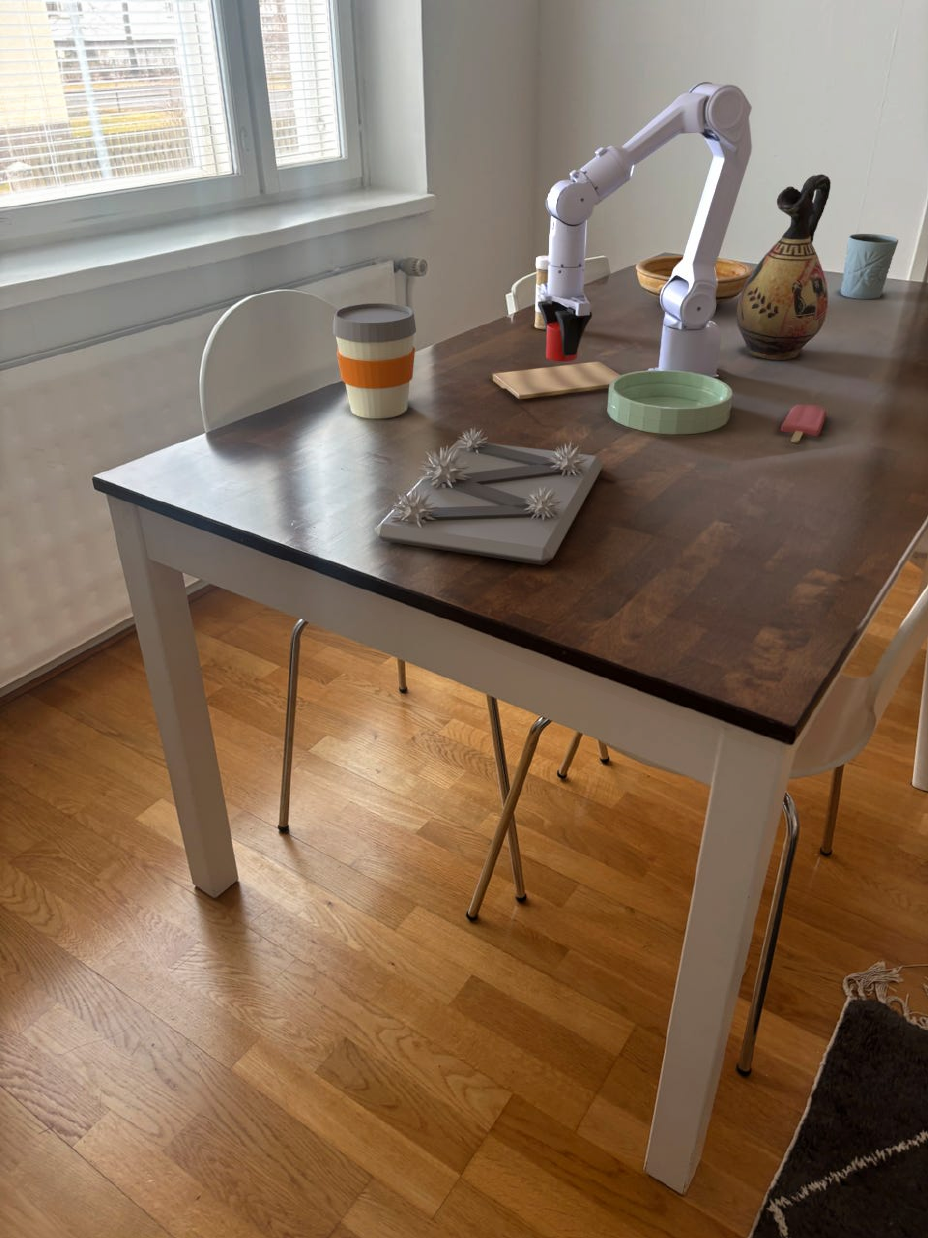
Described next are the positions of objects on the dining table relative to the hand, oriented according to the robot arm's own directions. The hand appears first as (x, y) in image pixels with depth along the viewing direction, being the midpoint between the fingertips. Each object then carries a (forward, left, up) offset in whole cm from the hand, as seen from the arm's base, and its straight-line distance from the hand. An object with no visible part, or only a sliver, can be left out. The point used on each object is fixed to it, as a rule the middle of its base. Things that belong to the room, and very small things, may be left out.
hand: (562, 349), depth 158 cm
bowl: (-9, +20, -6) cm, 23 cm away
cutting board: (0, 0, -6) cm, 6 cm away
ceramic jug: (-45, -3, -6) cm, 45 cm away
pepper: (0, 0, -1) cm, 1 cm away
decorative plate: (+27, +41, -6) cm, 50 cm away
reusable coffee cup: (+32, +1, -6) cm, 33 cm away
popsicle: (-25, +32, -6) cm, 41 cm away
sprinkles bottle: (-12, -34, -6) cm, 37 cm away
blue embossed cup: (-89, -34, -6) cm, 95 cm away
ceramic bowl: (-48, -39, -6) cm, 62 cm away
